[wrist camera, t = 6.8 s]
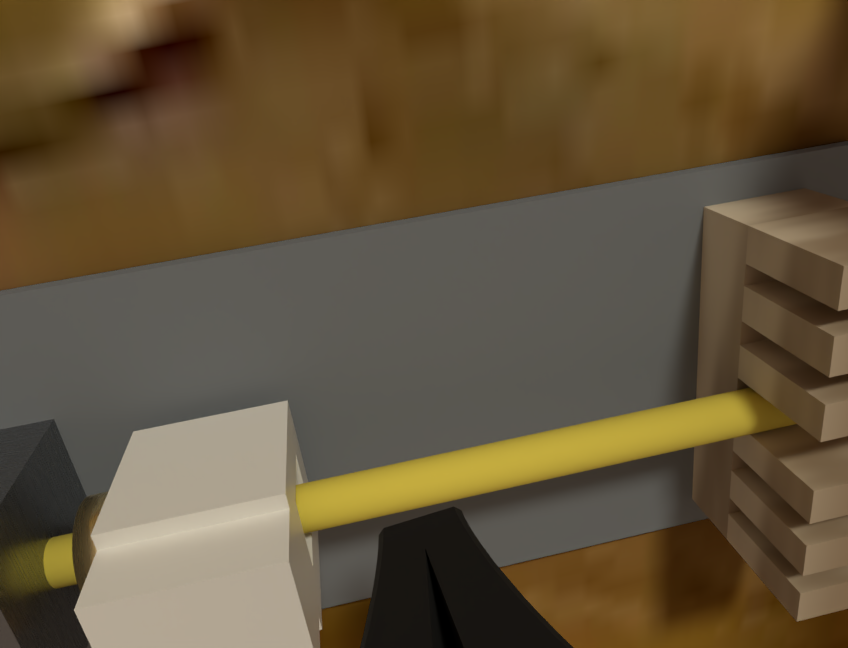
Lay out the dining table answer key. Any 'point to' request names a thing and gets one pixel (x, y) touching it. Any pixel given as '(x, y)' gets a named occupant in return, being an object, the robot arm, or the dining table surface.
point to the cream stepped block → (205, 540)
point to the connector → (41, 537)
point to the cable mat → (412, 349)
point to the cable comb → (780, 390)
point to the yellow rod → (505, 464)
